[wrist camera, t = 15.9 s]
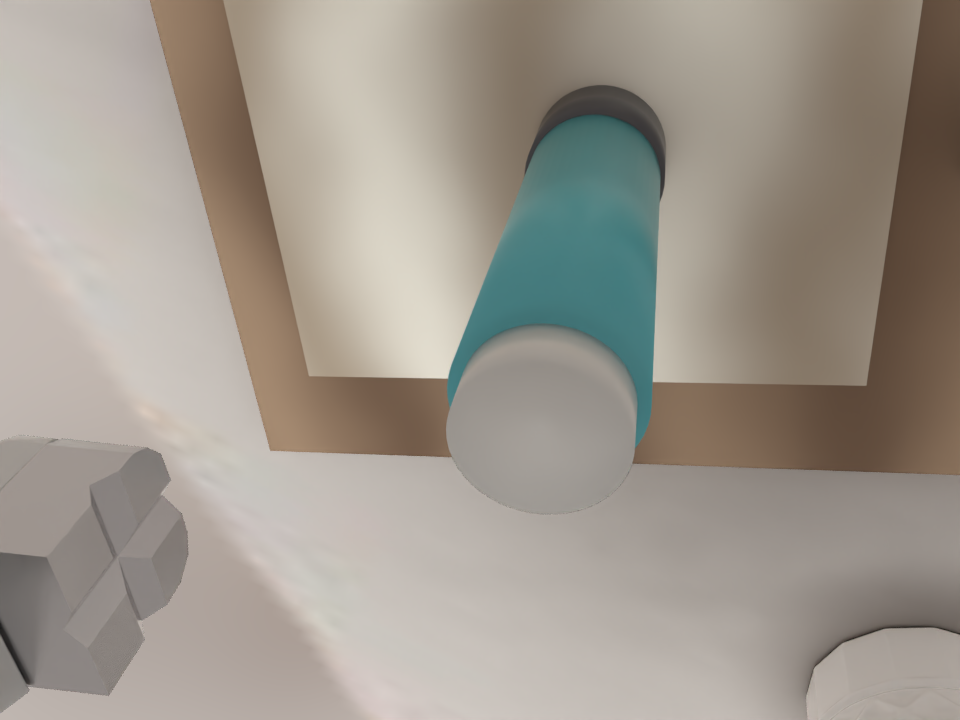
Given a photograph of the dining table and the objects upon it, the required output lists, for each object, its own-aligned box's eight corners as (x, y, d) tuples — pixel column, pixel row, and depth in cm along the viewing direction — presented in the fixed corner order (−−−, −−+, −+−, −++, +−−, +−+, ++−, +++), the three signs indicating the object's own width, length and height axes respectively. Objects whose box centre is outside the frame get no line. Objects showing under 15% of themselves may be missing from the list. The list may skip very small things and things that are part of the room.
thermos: (666, 81, 21) (658, 342, 11) (665, 209, 23) (657, 536, 13) (531, 88, 22) (410, 340, 12) (539, 212, 24) (439, 524, 14)
